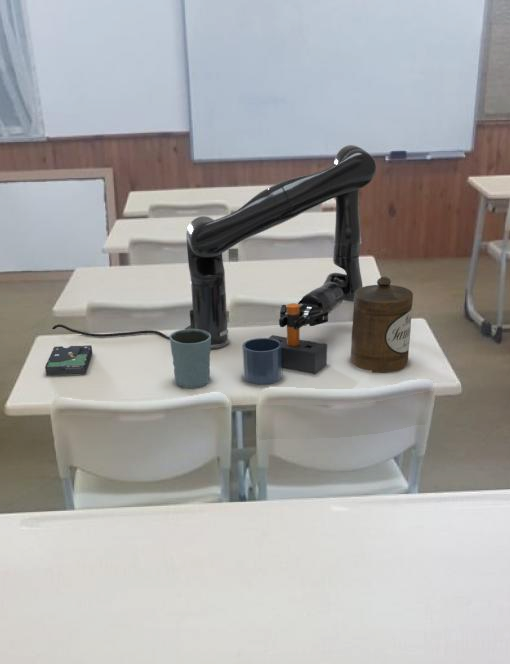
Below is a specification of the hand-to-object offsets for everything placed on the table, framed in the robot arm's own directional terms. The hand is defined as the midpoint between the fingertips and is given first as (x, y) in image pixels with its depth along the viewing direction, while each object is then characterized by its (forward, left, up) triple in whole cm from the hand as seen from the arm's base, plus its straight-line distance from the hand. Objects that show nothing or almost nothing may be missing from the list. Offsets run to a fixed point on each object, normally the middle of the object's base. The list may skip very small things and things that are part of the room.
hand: (288, 324), depth 211 cm
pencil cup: (-3, -8, -12) cm, 15 cm away
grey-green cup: (-18, -17, -12) cm, 28 cm away
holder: (0, +3, -12) cm, 12 cm away
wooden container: (+19, +15, -12) cm, 27 cm away
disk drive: (-54, -22, -12) cm, 59 cm away
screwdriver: (0, +3, -12) cm, 12 cm away
